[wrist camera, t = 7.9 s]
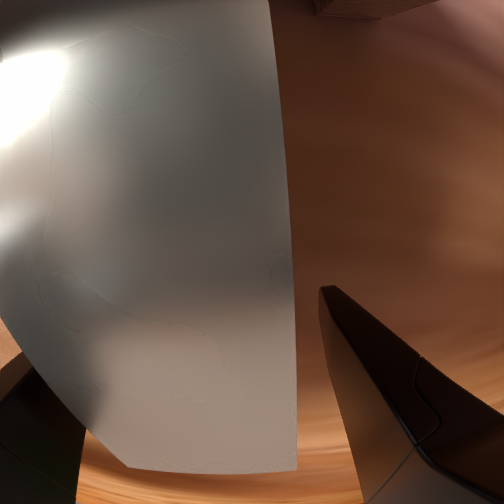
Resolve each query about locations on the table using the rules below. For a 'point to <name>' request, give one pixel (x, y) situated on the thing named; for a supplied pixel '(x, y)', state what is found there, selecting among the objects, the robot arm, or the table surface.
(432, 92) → the table surface
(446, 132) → the table surface
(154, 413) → the grey rectangular bar
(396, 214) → the table surface
